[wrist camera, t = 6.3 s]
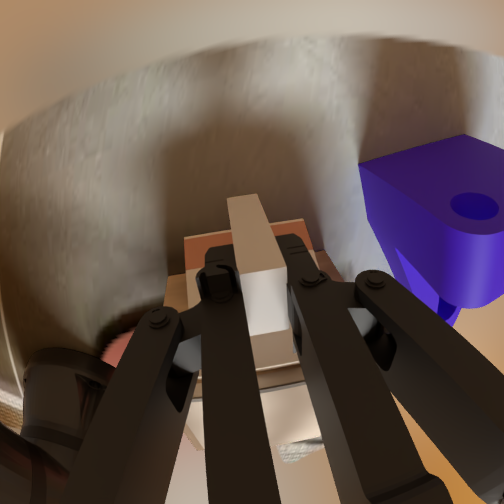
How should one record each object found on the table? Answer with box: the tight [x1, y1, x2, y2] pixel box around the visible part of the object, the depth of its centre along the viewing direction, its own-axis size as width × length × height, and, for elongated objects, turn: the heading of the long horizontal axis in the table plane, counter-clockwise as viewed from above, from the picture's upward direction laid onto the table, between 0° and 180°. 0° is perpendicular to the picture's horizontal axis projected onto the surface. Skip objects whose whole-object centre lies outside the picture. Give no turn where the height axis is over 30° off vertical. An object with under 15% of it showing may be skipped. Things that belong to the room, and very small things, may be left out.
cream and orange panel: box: [184, 218, 320, 380], centre depth 16 cm, size 7×8×1 cm
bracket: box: [358, 134, 504, 327], centre depth 19 cm, size 18×11×12 cm, turn 19°
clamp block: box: [163, 250, 344, 450], centre depth 20 cm, size 12×9×11 cm
